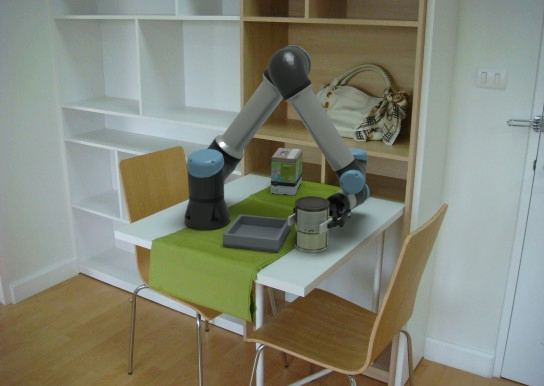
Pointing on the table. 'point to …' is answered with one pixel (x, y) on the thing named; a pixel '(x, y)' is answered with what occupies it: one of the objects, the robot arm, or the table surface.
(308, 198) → the coffee can
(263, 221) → the grey square tray
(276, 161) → the tea box
